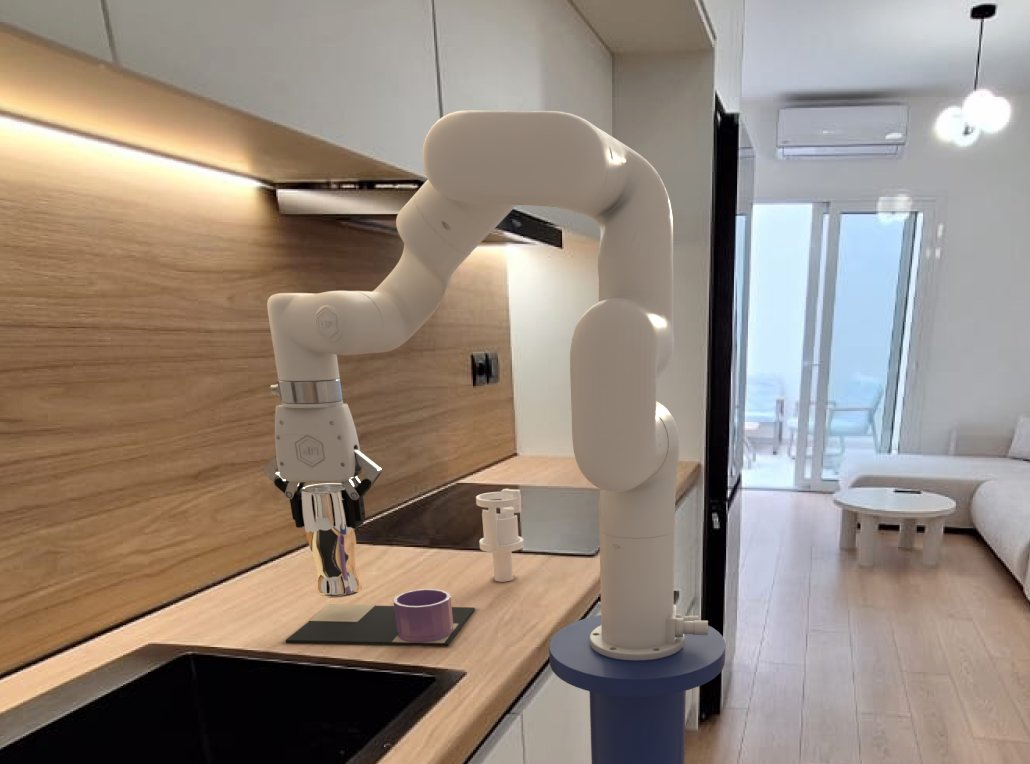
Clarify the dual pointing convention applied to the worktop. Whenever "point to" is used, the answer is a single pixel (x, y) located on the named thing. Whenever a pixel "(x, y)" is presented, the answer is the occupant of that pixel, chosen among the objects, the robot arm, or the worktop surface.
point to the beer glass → (330, 538)
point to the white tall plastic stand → (501, 529)
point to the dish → (423, 615)
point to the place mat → (365, 626)
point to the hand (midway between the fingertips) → (330, 524)
